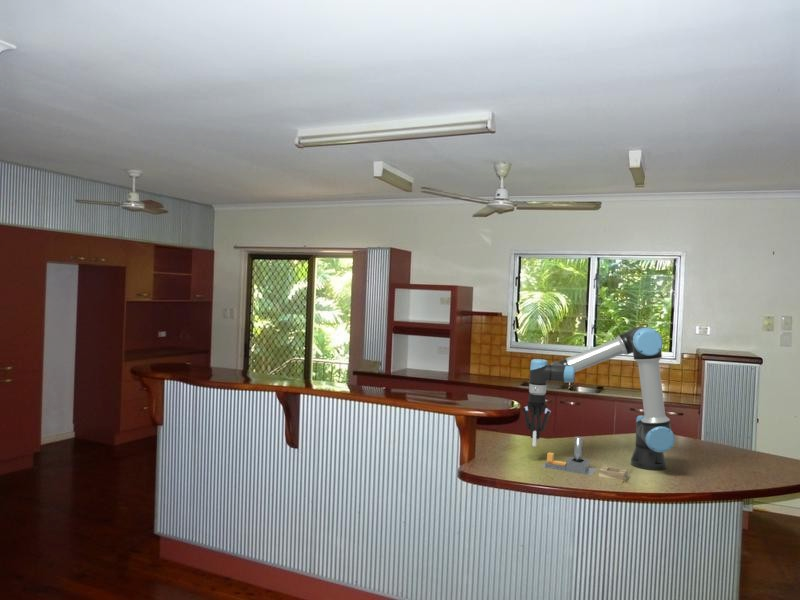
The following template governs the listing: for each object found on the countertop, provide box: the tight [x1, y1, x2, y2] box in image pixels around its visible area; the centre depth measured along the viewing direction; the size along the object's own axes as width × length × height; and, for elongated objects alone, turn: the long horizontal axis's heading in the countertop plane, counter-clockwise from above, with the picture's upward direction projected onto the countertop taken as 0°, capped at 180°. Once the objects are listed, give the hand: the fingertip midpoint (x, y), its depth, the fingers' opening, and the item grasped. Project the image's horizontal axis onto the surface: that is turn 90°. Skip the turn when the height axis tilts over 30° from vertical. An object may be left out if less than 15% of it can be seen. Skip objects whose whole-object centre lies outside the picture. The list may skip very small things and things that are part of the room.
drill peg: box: [573, 436, 583, 462], centre depth 269 cm, size 3×3×14 cm
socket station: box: [539, 456, 597, 476], centre depth 271 cm, size 12×22×5 cm, turn 61°
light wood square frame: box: [598, 465, 629, 484], centre depth 262 cm, size 10×10×4 cm
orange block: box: [546, 451, 566, 466], centre depth 274 cm, size 3×8×5 cm, turn 61°
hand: (534, 445), depth 279 cm, fingers closed
